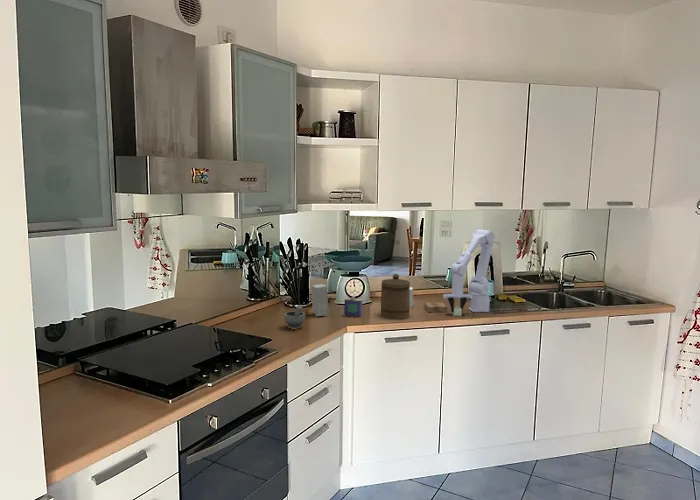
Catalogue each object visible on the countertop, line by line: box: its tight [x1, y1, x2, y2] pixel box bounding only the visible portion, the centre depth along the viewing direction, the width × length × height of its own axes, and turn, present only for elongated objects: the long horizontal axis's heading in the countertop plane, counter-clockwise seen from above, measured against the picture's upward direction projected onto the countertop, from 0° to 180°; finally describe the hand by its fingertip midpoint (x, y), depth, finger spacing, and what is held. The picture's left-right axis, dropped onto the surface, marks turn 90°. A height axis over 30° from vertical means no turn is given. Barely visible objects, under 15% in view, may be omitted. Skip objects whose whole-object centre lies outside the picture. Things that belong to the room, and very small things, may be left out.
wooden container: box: [380, 273, 411, 320], centre depth 280 cm, size 15×15×22 cm
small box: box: [409, 286, 414, 309], centre depth 301 cm, size 8×6×10 cm
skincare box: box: [311, 283, 330, 317], centre depth 279 cm, size 8×7×16 cm
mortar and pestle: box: [283, 304, 306, 328], centre depth 255 cm, size 11×9×12 cm
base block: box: [424, 302, 448, 313], centre depth 293 cm, size 10×10×3 cm
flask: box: [343, 295, 363, 318], centre depth 278 cm, size 9×3×11 cm, turn 78°
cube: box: [451, 305, 463, 317], centre depth 284 cm, size 4×4×4 cm
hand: (456, 311), depth 284 cm, fingers closed on cube, 4 cm apart
